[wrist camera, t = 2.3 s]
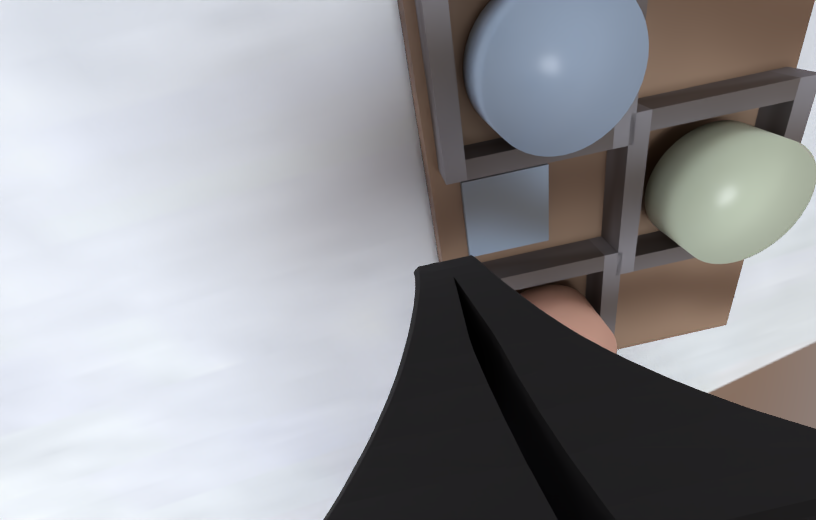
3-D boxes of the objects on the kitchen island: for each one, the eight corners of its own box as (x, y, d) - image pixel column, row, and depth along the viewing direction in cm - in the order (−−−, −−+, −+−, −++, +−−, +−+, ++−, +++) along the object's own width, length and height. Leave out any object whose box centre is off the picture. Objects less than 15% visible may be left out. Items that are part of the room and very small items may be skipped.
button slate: (602, 119, 17) (639, 138, 15) (470, 147, 17) (489, 171, 15) (612, -41, 14) (659, -45, 12) (454, -9, 14) (474, -7, 12)
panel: (707, 308, 26) (746, 343, 24) (455, 364, 26) (468, 406, 24) (813, -139, 16) (904, -161, 13) (389, -53, 15) (399, -59, 13)
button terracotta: (588, 353, 23) (612, 389, 21) (493, 375, 23) (507, 413, 21) (593, 274, 21) (621, 306, 18) (485, 298, 20) (501, 333, 18)
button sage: (748, 221, 20) (793, 249, 18) (638, 245, 20) (672, 275, 18) (778, 107, 17) (836, 124, 15) (652, 134, 17) (693, 155, 15)
